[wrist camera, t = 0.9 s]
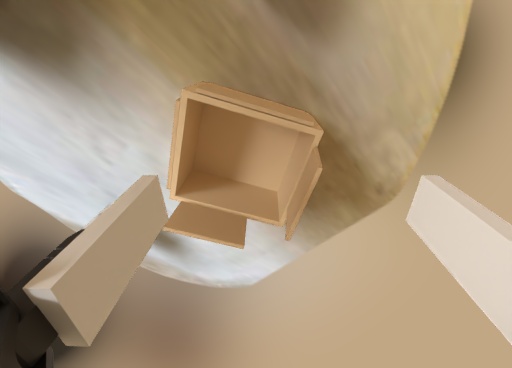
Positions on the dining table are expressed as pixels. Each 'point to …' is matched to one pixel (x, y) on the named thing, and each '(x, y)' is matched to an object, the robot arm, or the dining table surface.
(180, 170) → the carton
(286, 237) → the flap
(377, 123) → the dining table surface
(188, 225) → the side flap
